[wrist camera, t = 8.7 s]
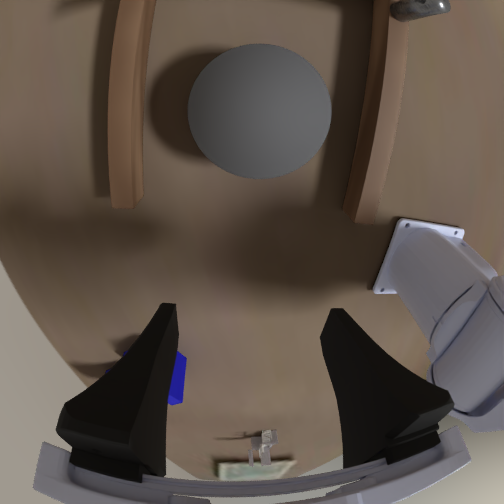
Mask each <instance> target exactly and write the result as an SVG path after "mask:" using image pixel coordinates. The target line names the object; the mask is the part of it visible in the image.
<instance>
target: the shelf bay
mask: <svg viewBox="0 0 504 504" xmlns="http://www.w3.org/2000/svg"><path fill="white" fill-rule="evenodd" d="M396 1H399V0H374V2H373V20H372V34H371V45H370V55H369V64H368V72H367V80H366V88H365V95H364V101H363V108H362V114H361V120H360V126H359V131H358V137H357V142H356V148H355V153H354V158H353V163H352V167H351V172H350V177H349V181H348V186H347V190H346V194H345V199H344V203H343V207H342V209H343V211H344V212H345V213H346V214H347V215H348V216H349V217H350V219H351V220H352V221H353V222H354V223H360V224H370V225H373V223H374V220H375V217H376V213H377V210H378V206H379V203H380V199H381V195H382V191H383V188H384V184H385V180H386V176H387V172H388V167H389V163H390V159H391V154H392V150H393V145H394V140H395V135H396V130H397V124H398V119H399V113H400V107H401V100H402V93H403V86H404V78H405V69H406V59H407V48H408V32H409V21H407V22H400V21H398V20H396V19H395V18H394V17H393V16H392V14H391V12H390V5H391V4H392V3H394V2H396ZM155 4H156V0H120V5H119V10H118V15H117V21H116V27H115V33H114V40H113V48H112V56H111V66H110V78H109V94H108V163H109V180H110V193H111V204H112V208H128V209H134V207H135V206H136V205H137V203H138V202H139V201H140V200H141V198H142V197H143V196H144V189H143V113H144V94H145V80H146V69H147V59H148V50H149V42H150V35H151V28H152V21H153V15H154V10H155Z"/></svg>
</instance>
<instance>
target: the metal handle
mask: <svg viewBox="0 0 504 504" xmlns="http://www.w3.org/2000/svg"><path fill="white" fill-rule="evenodd" d="M449 11H450V3H449V0H399V1H396V2H394V3H392V4H391V5H390V12H391V14H392V16H393V17H394V18H395V19H396V20H398V21H400V22H407V21H411V20H415V19H419V18H423V17H427V16H432V15H437V14H442V13H447V12H449Z"/></svg>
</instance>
